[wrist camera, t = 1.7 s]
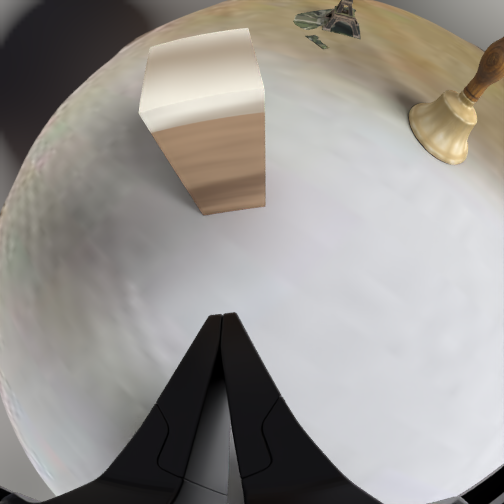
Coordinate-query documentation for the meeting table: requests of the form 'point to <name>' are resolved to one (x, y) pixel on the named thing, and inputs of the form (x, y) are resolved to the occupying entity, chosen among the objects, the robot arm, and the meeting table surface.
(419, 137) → the hand bell
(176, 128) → the wooden block
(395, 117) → the meeting table surface
